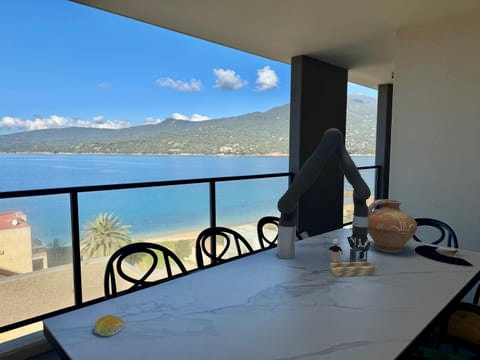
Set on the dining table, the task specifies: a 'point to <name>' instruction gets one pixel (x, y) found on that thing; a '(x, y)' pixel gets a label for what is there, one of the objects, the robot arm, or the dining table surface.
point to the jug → (390, 225)
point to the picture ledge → (353, 269)
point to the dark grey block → (357, 255)
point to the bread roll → (108, 325)
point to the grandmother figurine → (335, 251)
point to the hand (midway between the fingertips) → (358, 257)
